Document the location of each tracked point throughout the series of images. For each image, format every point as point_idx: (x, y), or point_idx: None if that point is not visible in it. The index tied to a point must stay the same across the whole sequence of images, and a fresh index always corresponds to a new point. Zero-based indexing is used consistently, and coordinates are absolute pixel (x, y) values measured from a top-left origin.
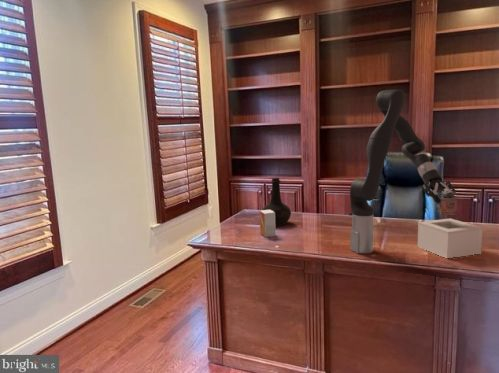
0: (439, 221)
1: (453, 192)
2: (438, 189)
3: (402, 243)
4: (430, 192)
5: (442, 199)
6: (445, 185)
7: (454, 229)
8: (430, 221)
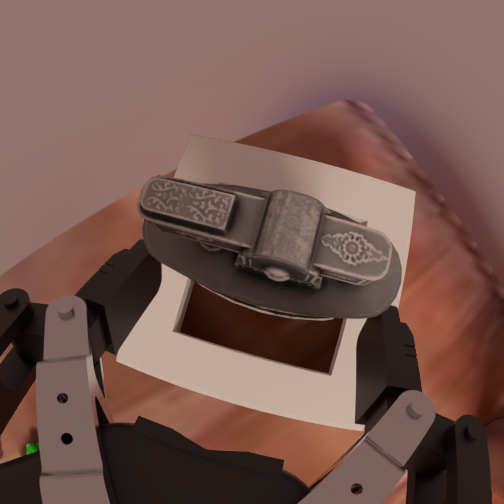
0: (242, 365)
1: (198, 188)
2: (273, 469)
3: (332, 458)
4: (479, 432)
5: (396, 268)
6: (39, 435)
7: (349, 195)
8: (288, 401)
